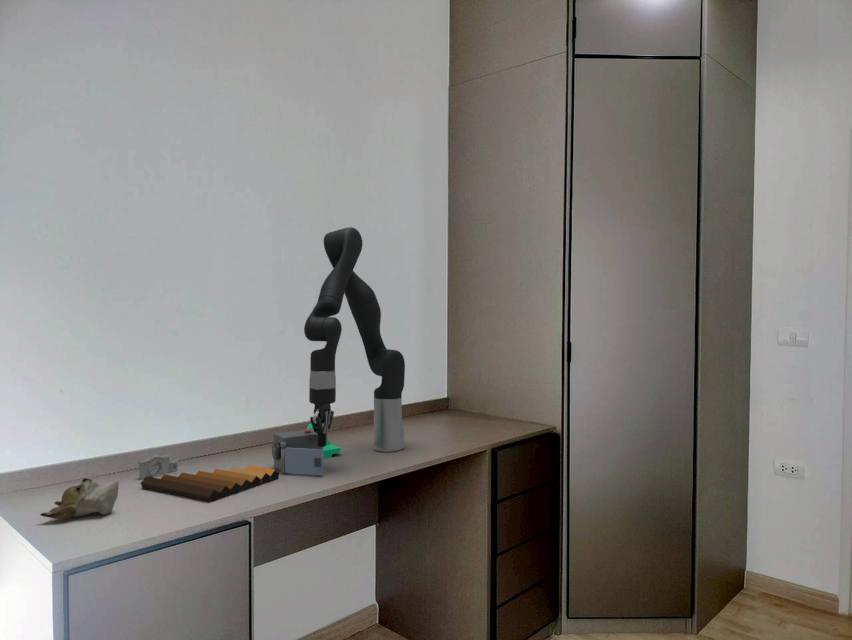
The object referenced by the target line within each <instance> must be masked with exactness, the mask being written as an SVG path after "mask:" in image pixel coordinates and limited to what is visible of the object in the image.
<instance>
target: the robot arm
mask: <svg viewBox="0 0 852 640" xmlns="http://www.w3.org/2000/svg"><path fill="white" fill-rule="evenodd" d="M323 248H324V252H325V254H326V257H327V258H328V261H329V262H330V263H329V264H331V266H332V268H333V269H332V270H331V271H330V273H329V274H328V275H327V276H326V278H325V280H324V281H323V283H322V285H321V287H320V291H319V295H318V298H317V302H316V303H315V305H314V307H313V309H312V310H311V312H310V314H309V316H308V317H307V319H306V321H305V324H304V327H303V328H304V329H303V333H304V336H305V337H306V339H307V340H308V341H311V342H326V343H325V345H324V347H323V348H321V349H316V350H312V351H311V353H310V368H309V369H310V370H309V371H310V373H309V380H308V381H309V382H308V383H309V388H308V389H309V390H308V391H309V393H308V395H309V399H308V401H309V403H310V404H313V405H314V408H313V416H310V418H309V419H310V424H312V427H313V430H314V432H317V434H318V446H319V447H324V446H326V445H327V439H328V434H327V433H328V432H329V430H330V429H331V427H332V422H333V419H334V416H335V415H334V414H335V411H334V410H332V409H331V408H332V407H331V404H334V403H336V401H337V400H336V399H337V398H336V397H337V382H336V381H337V380H336V379H337V377H336V355H337V349H338V345H339V342H340V339H341V335H342V330H343V328H342V324H341V320H339V319H338V317H334V316H336V315H338V314H339V313H340V312H341V308H342V303H343V300H344V296H345V298H346V301H347V303H348V304H347V305H348V307H349V309H350V313H351V314H352V317H353V320H354V322H355V324H356V326H357V330H358V333H359V335H360V338H361V340H362V345H363V347H364V352H365V355H366V360H367V363H368V365H369V368H370V370H371V372H372V373H373V374H374V375H376V376H378V377H381V384H380V385H379V386H378V387H376V388H375V389H374V390H373V450H375V451H376V452H383V453H384V452H385V453H388V452H389V453H391V452H392V453H393V452H398V451H401V450H404V449H405V420H404V419H402V418H403V416H402V415H403V412H402V411H403V409H402V408H403V407H402V403H403V401H402V400H403V399H402V397H403V391H404V387H405V373H406V372H405V371H406V364H405V363H406V362H405V358H404V355H403V353H401V352H400V351H399V350H396V349H391V348H390V349H388V348H386V345H385V343H384V340H383V338H382V335H381V334H382V333H381V322H382V321H381V320H382V319H381V318H382V311H381V307H380V303H379V301H378V299H377V295H376V293H375V291H374V290H373V288H372V287H371V286H370V285H369V284H368V283H367V282H366V281H365V280H363V279H362V278H361V277H360V276H359V275H358V274H357V273H356V272H355V271H354V268H355V267H356V265H357V262H358V259H359V257H360V255H361V252H362V249H363V237H362V234H361V233H360V231H359V230H358V229H357V228H355V227H353V226H350V227H345V228H342V229H341V228H340V229H337V230H333V231H330V232H327V233H326V234H324V237H323Z"/></svg>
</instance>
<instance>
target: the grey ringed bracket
mask: <svg viewBox="0 0 852 640" xmlns="http://www.w3.org/2000/svg"><path fill="white" fill-rule="evenodd" d="M170 457H171V455H169V454H168V453H167V454H165V455H158V454H157V455H156V454H155V455H150V456H149V457H148V458H147V459H143V460H139V461H137V464H139V465H138V466H139V467H138V468H139V469H138V470H139V471H138V472H139V475H138V476H139V480H144V478H145V477H146V476H148V477H153V478H156V477H159V476H160V475H164V474H165V475H166V474H168V473H173V472H176V471H178V467H179V466H178V462H179V460H178V459H175V460H173V461H172V460H171V461H170Z"/></svg>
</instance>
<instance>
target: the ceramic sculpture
mask: <svg viewBox="0 0 852 640" xmlns="http://www.w3.org/2000/svg"><path fill="white" fill-rule="evenodd" d="M118 493H119V481H118V480H117V481H115V482H112V483H109V484H106V485H99V484H98V482H97V481H95V480H93V479H91V478H82V480H81V483H75V484H72V485H71V486H69V487H67V488H66V489H65V490H64V492H63V493H62V494H61V495H62V496H61V501H59V500H56V501H54V505H56V507H53V508H51V509H50V510H48V511H46V512H41V513H40V516H42V517H45V518H50V519H54V520H55V519H56V520H57V519H58V520H61V519H66V518H68V517H74V518H79V517H86V516H88V515H90V514H93V513H99V514H101V515H103V516H104V515H108V514H110V513H111V512H112V511H113V509H114V507H115V503H116V501H117V499H118V496H119V494H118Z"/></svg>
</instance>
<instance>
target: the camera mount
mask: <svg viewBox="0 0 852 640" xmlns="http://www.w3.org/2000/svg"><path fill="white" fill-rule="evenodd" d="M306 429H313V427H312V424H311V423H309V424H308V425H307V427H306ZM323 449H324V460H325V459H328V458H332V457H333V455H336V454H340V453H341V447H340V446H336V445H334V444H331V442H330V440H329V438H327V445H326V446H324V447H323Z"/></svg>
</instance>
